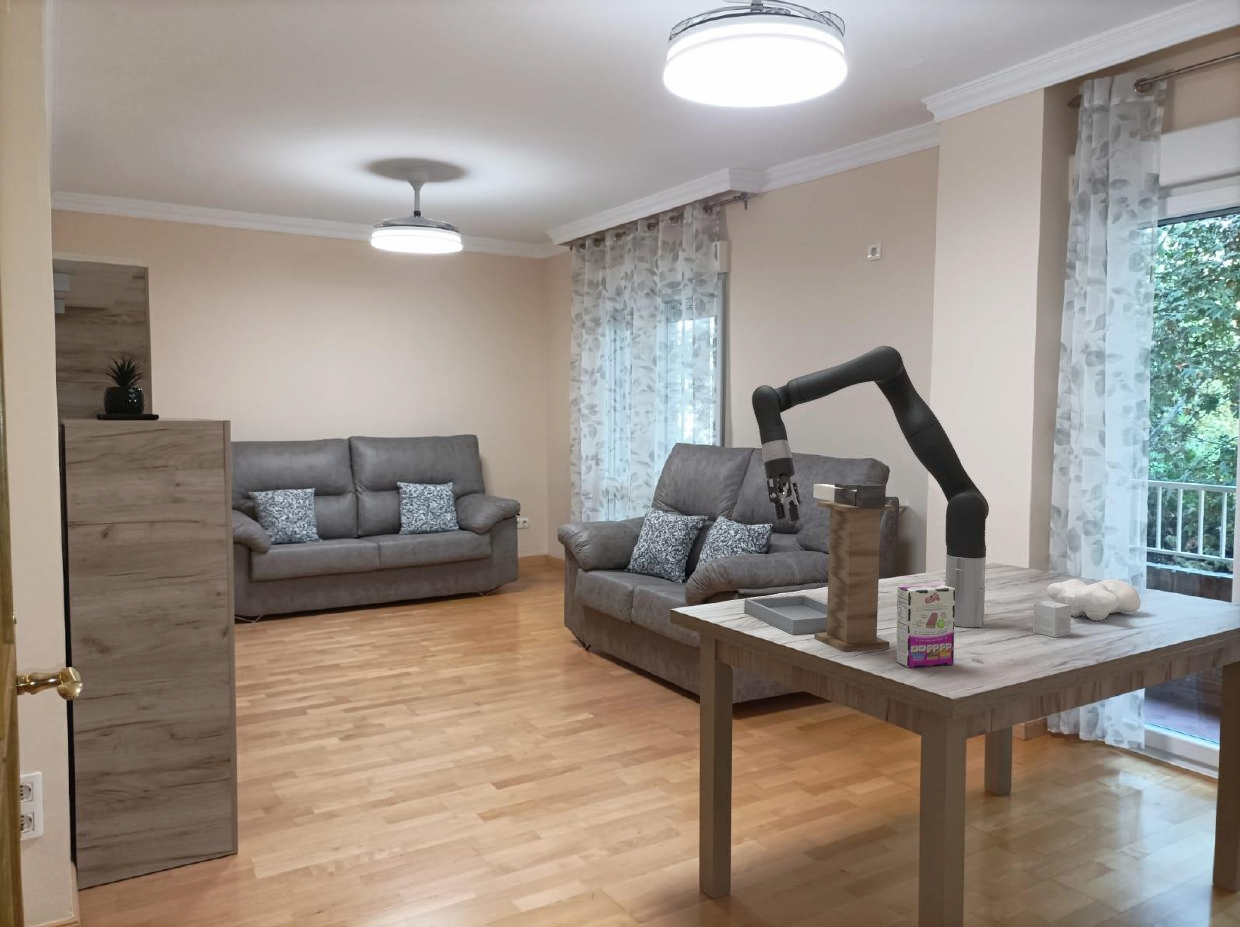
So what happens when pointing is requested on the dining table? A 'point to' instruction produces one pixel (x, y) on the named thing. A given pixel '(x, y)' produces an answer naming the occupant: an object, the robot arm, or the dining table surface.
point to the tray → (790, 613)
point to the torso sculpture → (1095, 597)
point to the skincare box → (1052, 618)
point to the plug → (826, 491)
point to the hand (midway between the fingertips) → (788, 520)
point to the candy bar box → (925, 625)
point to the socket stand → (854, 567)
